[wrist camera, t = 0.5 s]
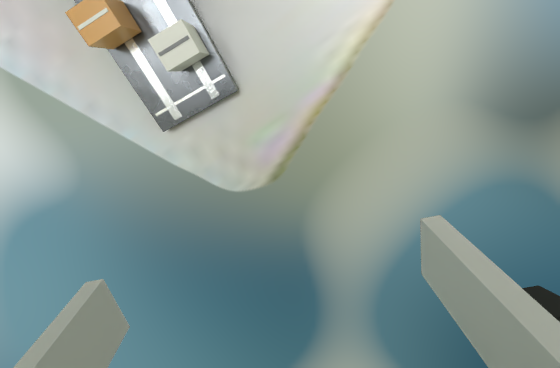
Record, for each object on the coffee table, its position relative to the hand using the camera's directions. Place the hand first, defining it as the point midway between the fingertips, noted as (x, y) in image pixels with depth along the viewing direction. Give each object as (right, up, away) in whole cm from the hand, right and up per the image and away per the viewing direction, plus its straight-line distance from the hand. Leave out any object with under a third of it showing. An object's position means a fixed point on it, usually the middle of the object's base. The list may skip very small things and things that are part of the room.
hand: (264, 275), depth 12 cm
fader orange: (-16, +20, +17) cm, 31 cm away
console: (-12, +19, +20) cm, 30 cm away
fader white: (-9, +18, +18) cm, 27 cm away
